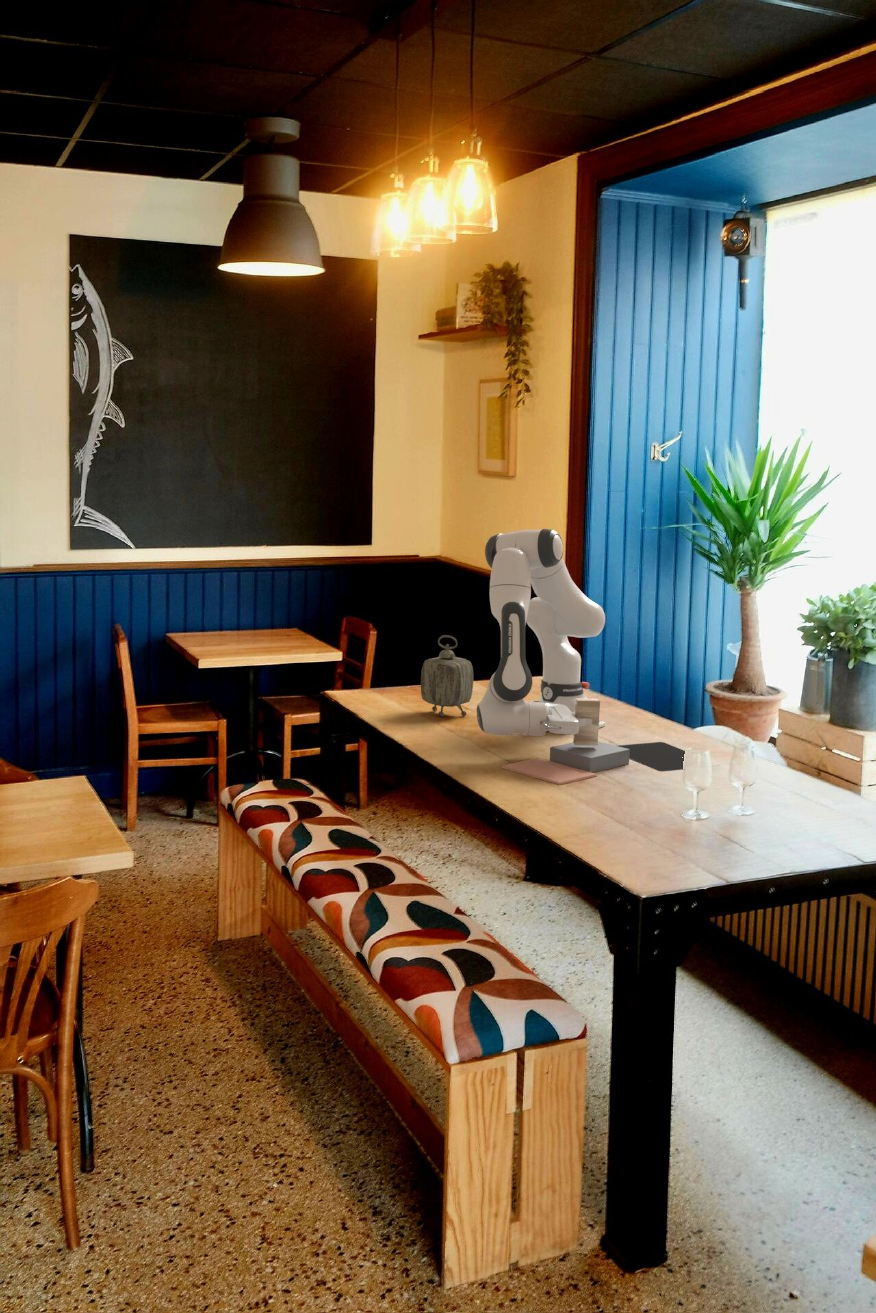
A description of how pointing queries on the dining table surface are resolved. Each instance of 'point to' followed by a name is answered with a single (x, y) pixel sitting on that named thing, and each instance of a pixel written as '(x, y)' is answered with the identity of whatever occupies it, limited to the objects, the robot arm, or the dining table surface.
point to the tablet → (657, 755)
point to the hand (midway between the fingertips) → (590, 719)
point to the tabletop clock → (447, 680)
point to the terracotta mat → (549, 771)
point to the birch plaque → (587, 710)
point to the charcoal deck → (590, 756)
